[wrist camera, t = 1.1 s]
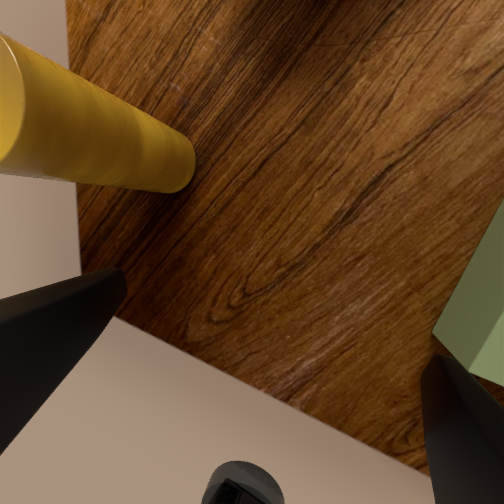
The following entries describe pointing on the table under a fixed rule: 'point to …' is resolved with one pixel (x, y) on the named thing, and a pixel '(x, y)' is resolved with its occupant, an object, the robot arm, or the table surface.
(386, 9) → the table surface
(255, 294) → the table surface
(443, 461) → the robot arm
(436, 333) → the block
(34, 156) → the yellow tall cylinder
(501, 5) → the table surface
